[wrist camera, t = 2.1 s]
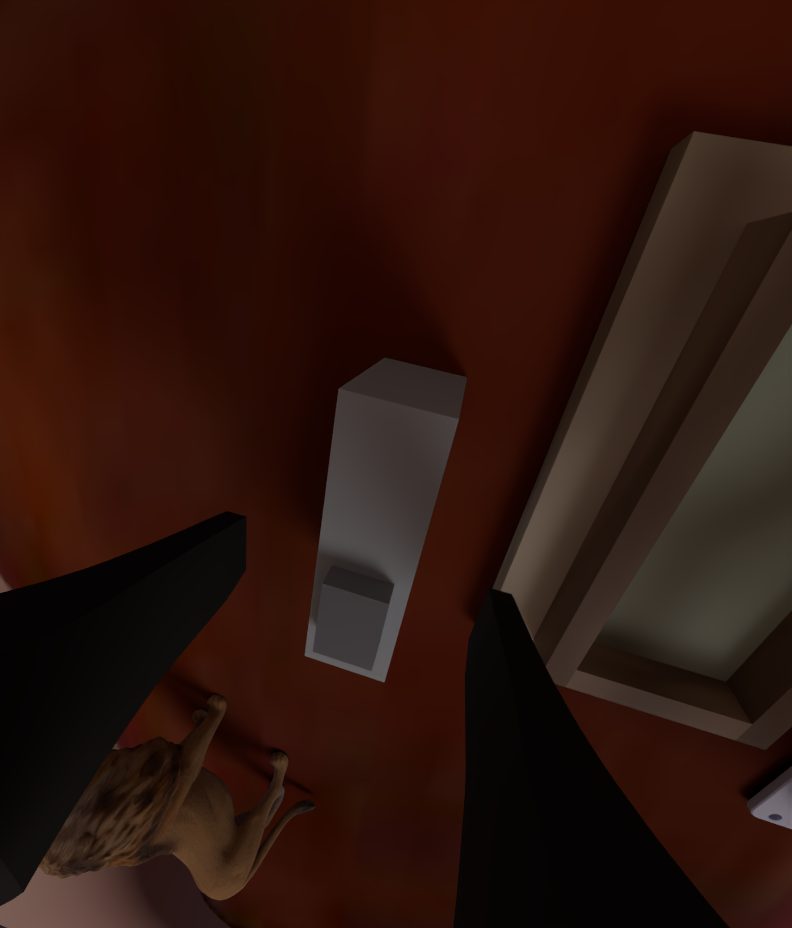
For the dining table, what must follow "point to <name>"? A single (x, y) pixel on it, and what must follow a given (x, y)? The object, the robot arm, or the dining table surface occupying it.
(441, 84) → the dining table surface
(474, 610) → the dining table surface
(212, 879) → the lion figurine
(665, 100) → the dining table surface
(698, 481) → the cradle jig
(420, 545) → the grey pillar with nub
